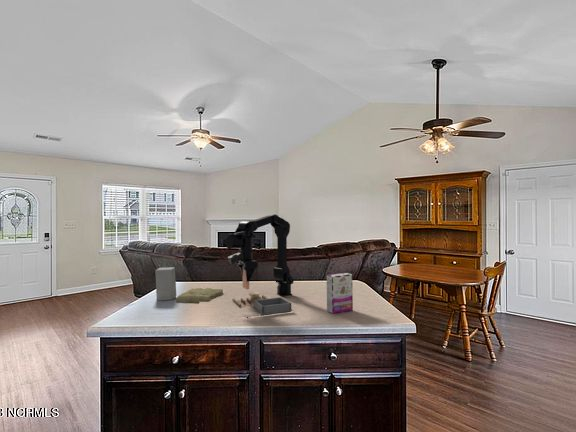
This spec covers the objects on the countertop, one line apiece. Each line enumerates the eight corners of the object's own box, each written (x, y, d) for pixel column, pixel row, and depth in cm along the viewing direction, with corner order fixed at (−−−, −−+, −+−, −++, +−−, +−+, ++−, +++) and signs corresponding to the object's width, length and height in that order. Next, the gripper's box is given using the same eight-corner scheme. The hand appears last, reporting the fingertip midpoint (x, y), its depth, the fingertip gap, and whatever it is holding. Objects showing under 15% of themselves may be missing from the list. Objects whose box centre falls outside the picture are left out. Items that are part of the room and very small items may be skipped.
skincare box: (176, 297, 168) (176, 266, 169) (172, 300, 161) (172, 269, 161) (160, 297, 168) (160, 266, 168) (154, 300, 161) (155, 269, 161)
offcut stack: (257, 300, 160) (257, 291, 160) (260, 302, 155) (260, 294, 155) (249, 301, 158) (249, 292, 158) (252, 303, 153) (252, 294, 153)
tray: (280, 305, 154) (280, 297, 154) (291, 311, 143) (291, 303, 143) (253, 308, 148) (253, 300, 148) (262, 315, 137) (262, 306, 137)
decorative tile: (175, 303, 159) (175, 295, 159) (191, 293, 179) (191, 287, 179) (211, 304, 157) (211, 296, 157) (224, 294, 177) (224, 287, 177)
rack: (263, 299, 164) (263, 294, 164) (272, 305, 154) (272, 299, 154) (232, 302, 158) (232, 297, 158) (239, 309, 147) (239, 303, 147)
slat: (245, 286, 157) (245, 266, 157) (249, 289, 152) (249, 267, 152) (242, 286, 157) (242, 266, 157) (246, 289, 151) (246, 268, 151)
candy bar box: (346, 308, 149) (346, 272, 149) (353, 310, 145) (353, 274, 145) (325, 311, 144) (326, 274, 144) (332, 314, 140) (332, 276, 140)
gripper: (224, 246, 160) (224, 278, 159) (234, 250, 143) (234, 285, 143) (246, 245, 164) (246, 276, 164) (258, 249, 147) (258, 283, 147)
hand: (245, 280), depth 154 cm, fingers closed on slat, 6 cm apart
